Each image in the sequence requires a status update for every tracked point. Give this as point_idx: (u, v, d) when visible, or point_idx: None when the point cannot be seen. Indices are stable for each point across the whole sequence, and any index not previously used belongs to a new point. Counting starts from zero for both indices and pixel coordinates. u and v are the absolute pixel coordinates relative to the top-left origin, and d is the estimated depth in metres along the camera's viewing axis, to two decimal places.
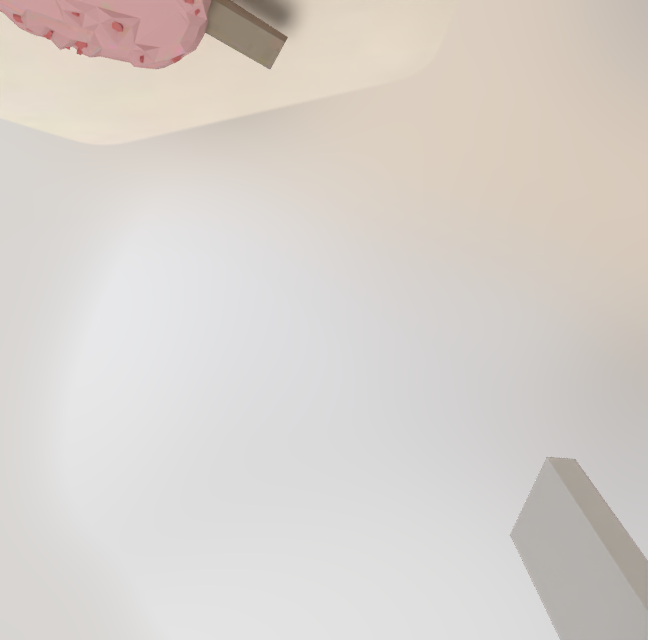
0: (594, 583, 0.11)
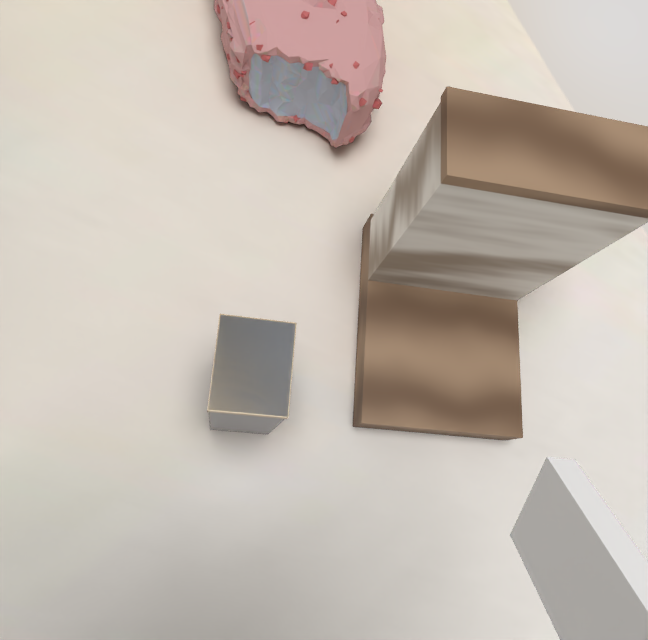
0: (594, 582, 0.11)
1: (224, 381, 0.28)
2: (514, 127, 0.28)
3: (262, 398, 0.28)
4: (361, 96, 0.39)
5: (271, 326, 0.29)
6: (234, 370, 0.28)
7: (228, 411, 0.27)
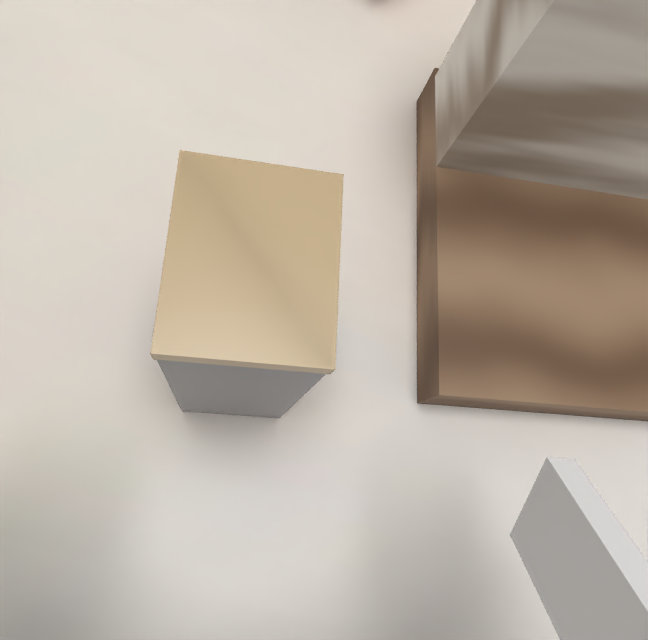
0: (594, 582, 0.11)
1: (189, 289, 0.12)
2: None
3: (276, 326, 0.12)
4: None
5: (292, 179, 0.14)
6: (213, 267, 0.13)
7: (200, 355, 0.12)
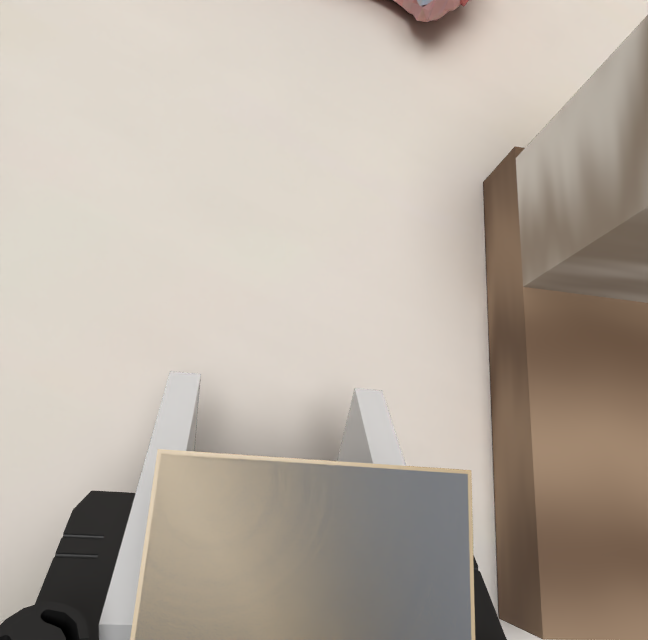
0: None
1: None
2: None
3: None
4: None
5: (376, 493, 0.07)
6: None
7: None
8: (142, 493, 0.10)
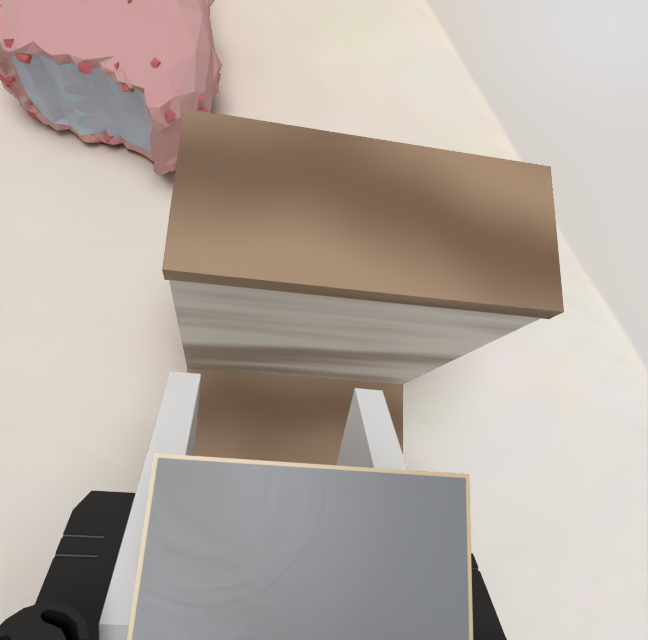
0: None
1: None
2: (301, 175, 0.16)
3: None
4: (167, 107, 0.28)
5: (373, 497, 0.07)
6: None
7: None
8: (142, 493, 0.10)
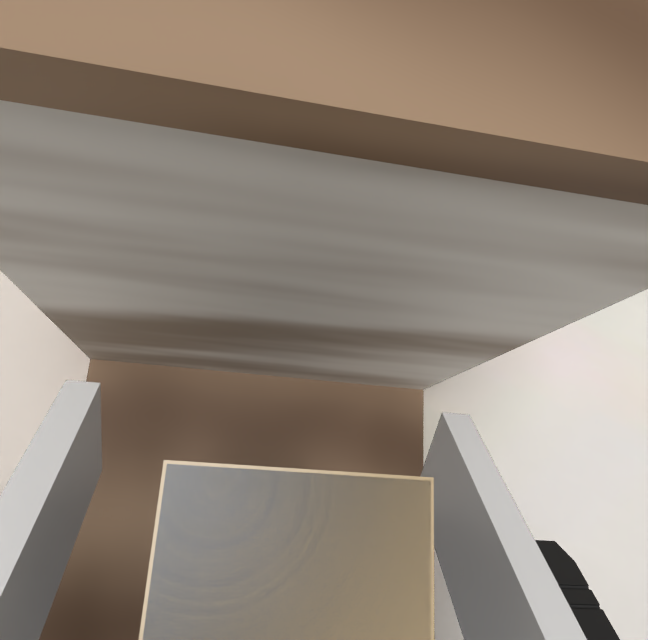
0: (468, 521, 0.12)
1: None
2: None
3: None
4: None
5: (351, 497, 0.08)
6: None
7: None
8: None
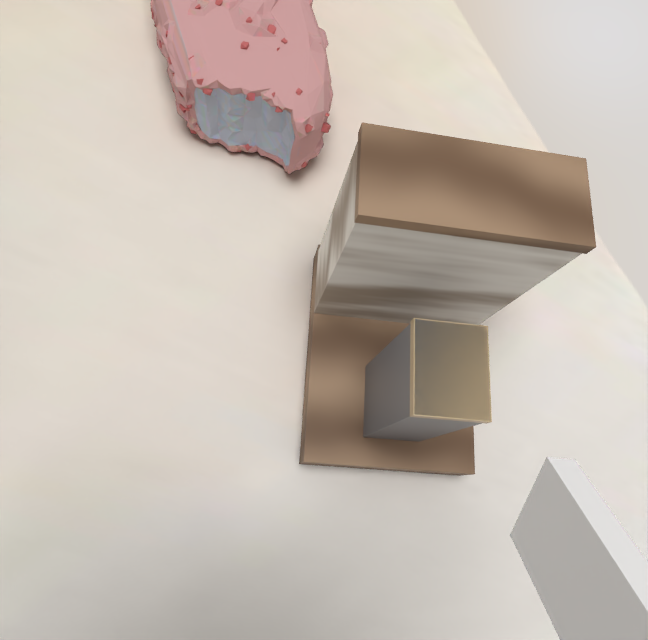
0: (594, 583, 0.11)
1: (426, 385, 0.27)
2: (432, 162, 0.27)
3: (464, 402, 0.27)
4: (306, 122, 0.39)
5: (464, 329, 0.29)
6: (434, 374, 0.28)
7: (433, 416, 0.27)
8: None
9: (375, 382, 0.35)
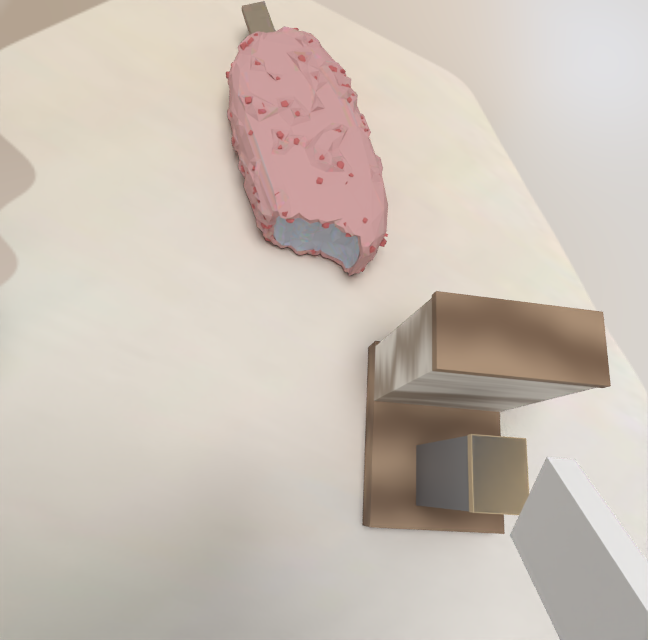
0: (594, 582, 0.11)
1: (481, 488, 0.36)
2: (489, 322, 0.36)
3: (510, 500, 0.36)
4: (371, 245, 0.47)
5: (509, 442, 0.38)
6: (487, 479, 0.37)
7: (487, 512, 0.36)
8: None
9: (429, 465, 0.44)
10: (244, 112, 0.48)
